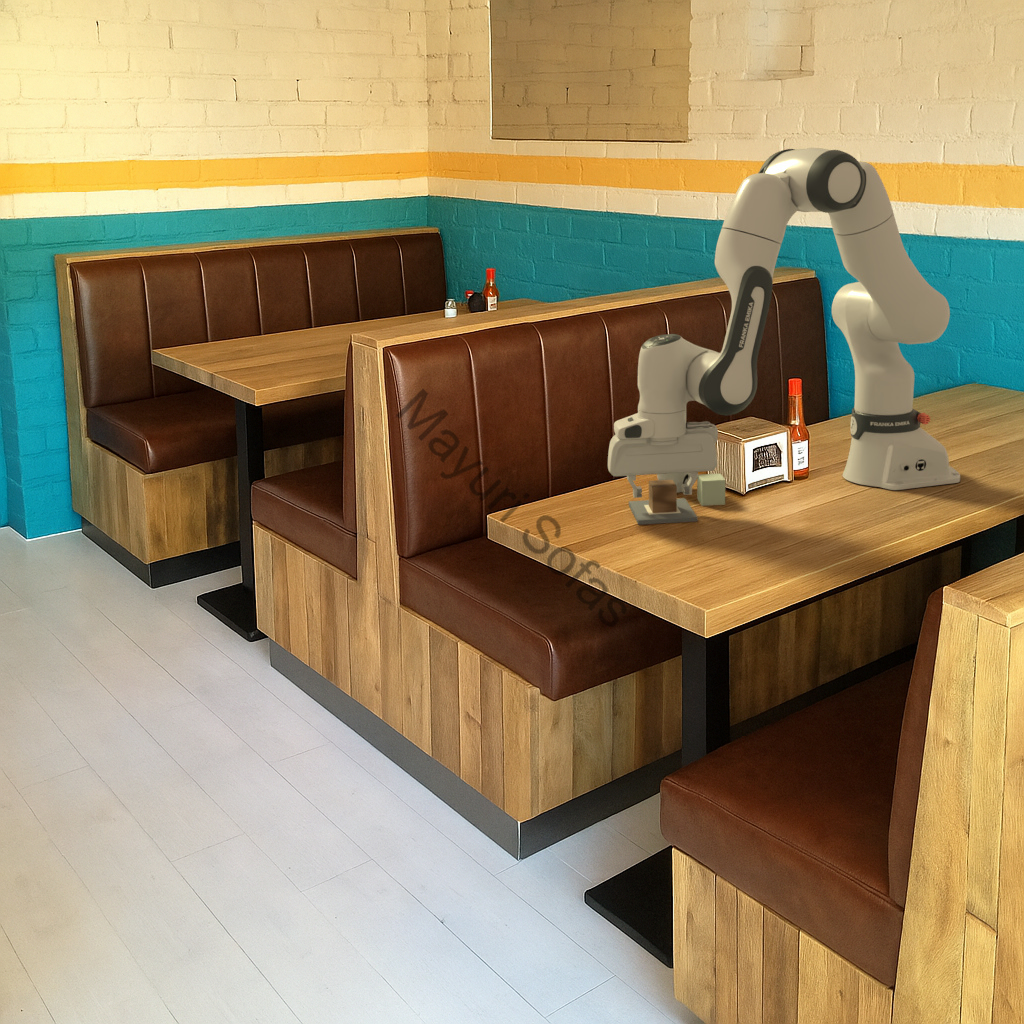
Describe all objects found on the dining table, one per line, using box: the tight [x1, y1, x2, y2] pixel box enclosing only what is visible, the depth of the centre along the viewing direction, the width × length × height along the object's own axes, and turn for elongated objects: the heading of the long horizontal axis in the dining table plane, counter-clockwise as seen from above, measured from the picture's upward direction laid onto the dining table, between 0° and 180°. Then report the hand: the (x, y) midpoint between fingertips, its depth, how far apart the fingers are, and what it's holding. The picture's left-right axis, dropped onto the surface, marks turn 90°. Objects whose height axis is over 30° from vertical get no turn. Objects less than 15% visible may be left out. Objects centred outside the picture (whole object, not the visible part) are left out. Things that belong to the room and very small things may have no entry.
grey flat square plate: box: [628, 497, 699, 525], centre depth 214 cm, size 11×12×1 cm
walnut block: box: [648, 479, 678, 513], centre depth 213 cm, size 4×4×5 cm
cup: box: [656, 472, 690, 494], centre depth 227 cm, size 8×8×10 cm
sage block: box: [696, 473, 726, 507], centre depth 219 cm, size 4×4×5 cm
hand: (662, 495), depth 213 cm, fingers open, 8 cm apart
